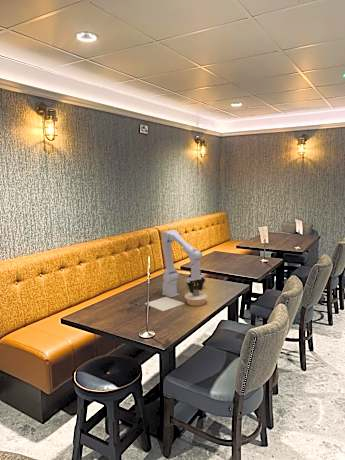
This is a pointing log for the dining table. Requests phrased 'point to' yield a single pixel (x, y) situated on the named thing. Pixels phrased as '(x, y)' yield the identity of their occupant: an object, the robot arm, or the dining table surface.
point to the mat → (164, 303)
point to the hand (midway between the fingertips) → (195, 291)
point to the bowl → (196, 302)
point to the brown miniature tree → (195, 281)
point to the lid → (196, 295)
